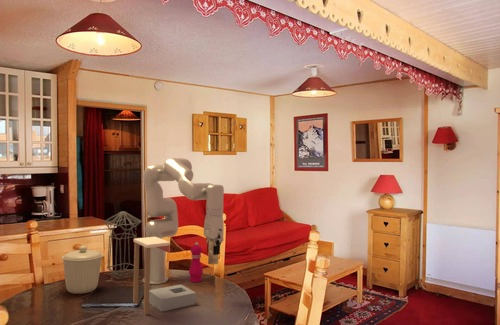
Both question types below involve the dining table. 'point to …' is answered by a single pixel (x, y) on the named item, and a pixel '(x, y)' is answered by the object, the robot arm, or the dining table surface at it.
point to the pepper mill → (196, 264)
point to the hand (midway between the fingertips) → (213, 252)
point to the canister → (82, 270)
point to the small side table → (146, 265)
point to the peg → (212, 258)
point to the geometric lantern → (120, 240)
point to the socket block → (172, 297)
